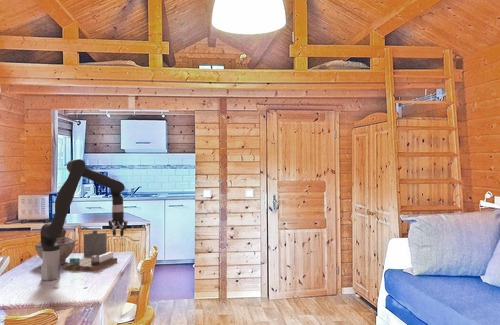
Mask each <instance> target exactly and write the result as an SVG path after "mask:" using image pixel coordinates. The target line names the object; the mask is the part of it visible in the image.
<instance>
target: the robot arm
mask: <svg viewBox="0 0 500 325" xmlns="http://www.w3.org/2000/svg"><path fill="white" fill-rule="evenodd" d="M86 166H87V165H86V162H85V161H84V160H83V159H81V158H76V159H71V160H70V161H68V162H67V163H66V169H67V171H68V172H69V174H68V175H67V179H66V180H65V182H64V183H63V184H62V185H61V187H60V189H58V192H57V195H56V197H55V200H54V214H53V218H52V220H51V222H47V223H44V224H42V227H41V228H40V241H41V246H42V249H43V259H42V263H40V268H41V269H40V271H41V272H40V274H41V276H40V278H41V281H45V282H48V281H49V282H50V281H55V280H58V279H60V278H61V267H60V266H61V265H60V246H59V244H58V243H57V241H56V239H57V238H58V237H59V236H60V235H61V233H62V230H63V228H64V226H65V221H66V218H67V215H68V212H69V210H70V208H71V205H72V203H73V200H74V197H75V193H76V191H77V188H78V185H79V183H80V181H81V179H82V177H83V178H85V179H88V180H89V181H92V182H94V183H96V184H99V185H100V186H103V187H105V188H109V189H110V194H111V197H112V198H111V200H112V201H111V202H112V206H111V218H112V220H108V227H109V230H112V236H113V237H115V236H116V235H117V230H116V229H117V227H119V229H120V233H119V234H120V235H119V236H120V237H123V236H124V234H125V232H124V231H125V230H127V227H128V223H129V222H128V221H129V220H125V219H124V217H125V216H124V214H125V212H124V210H125V209H124V197H123V196H122V193H123V192H124V191H125V189H126V186H125V185H124V183H123V182H121V181H119V180H116V179H114V178H111V177H110V176H108V175H106V174H104V173H101V172H98V171H96V170H93V169H90V168H89V167H86Z"/></svg>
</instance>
